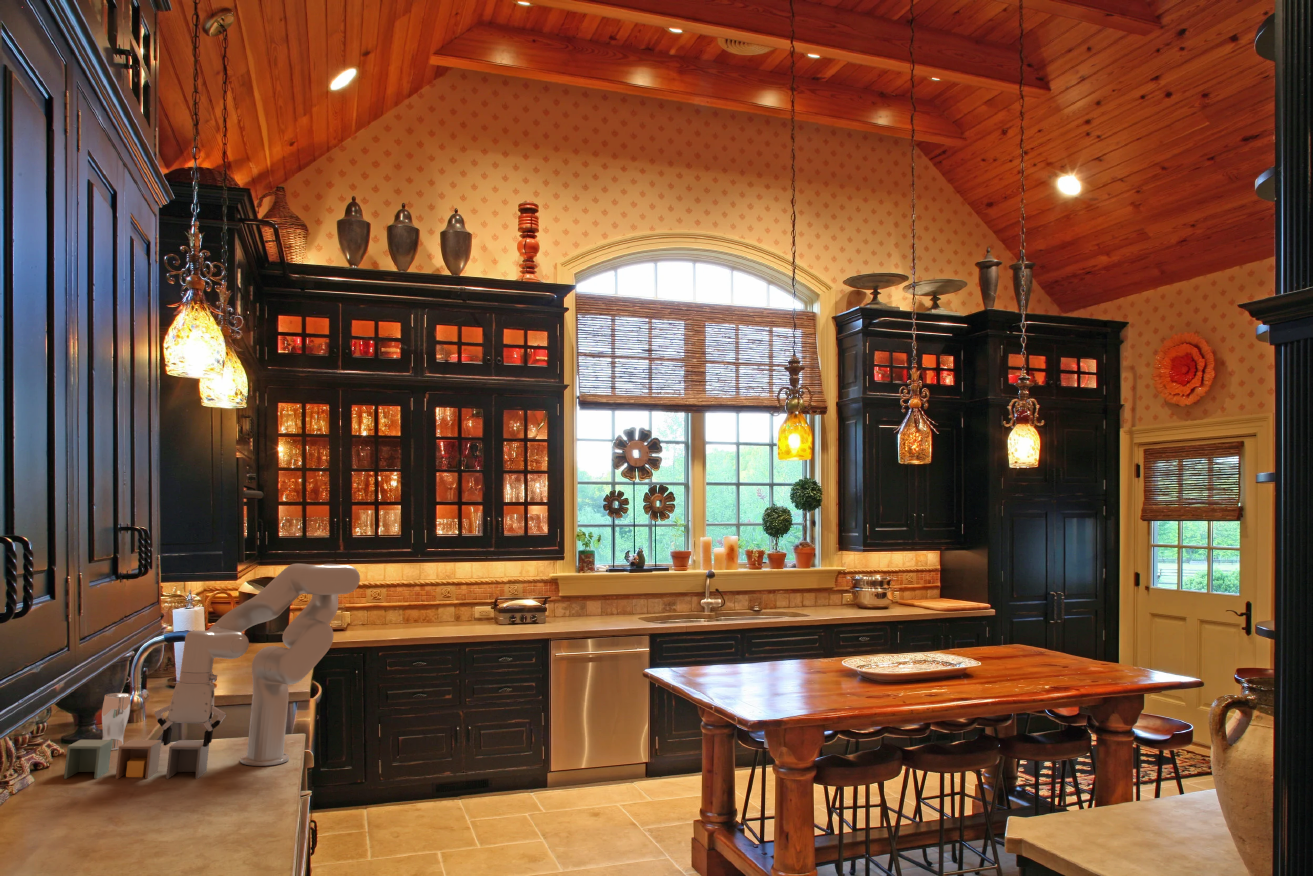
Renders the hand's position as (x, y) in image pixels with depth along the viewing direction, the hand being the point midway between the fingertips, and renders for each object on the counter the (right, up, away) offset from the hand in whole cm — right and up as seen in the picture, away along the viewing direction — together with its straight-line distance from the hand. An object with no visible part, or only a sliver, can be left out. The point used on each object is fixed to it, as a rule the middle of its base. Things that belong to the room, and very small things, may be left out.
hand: (186, 745), depth 239 cm
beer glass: (-34, -9, +24) cm, 42 cm away
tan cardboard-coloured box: (-12, -7, -2) cm, 14 cm away
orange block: (-12, -7, -2) cm, 14 cm away
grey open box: (0, -8, 0) cm, 8 cm away
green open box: (-23, -6, -4) cm, 25 cm away
